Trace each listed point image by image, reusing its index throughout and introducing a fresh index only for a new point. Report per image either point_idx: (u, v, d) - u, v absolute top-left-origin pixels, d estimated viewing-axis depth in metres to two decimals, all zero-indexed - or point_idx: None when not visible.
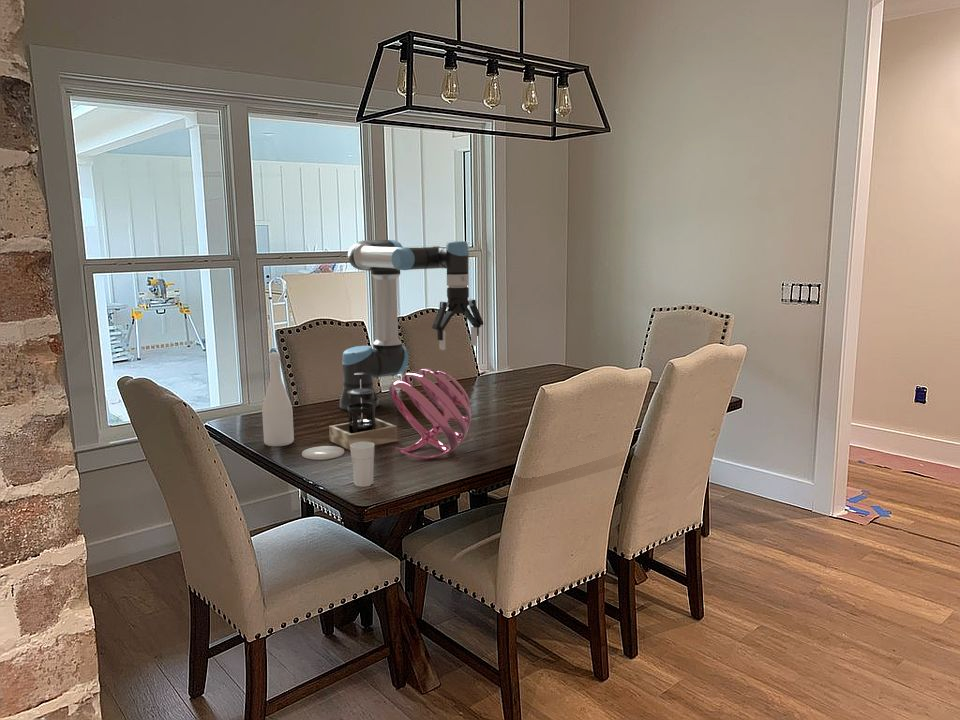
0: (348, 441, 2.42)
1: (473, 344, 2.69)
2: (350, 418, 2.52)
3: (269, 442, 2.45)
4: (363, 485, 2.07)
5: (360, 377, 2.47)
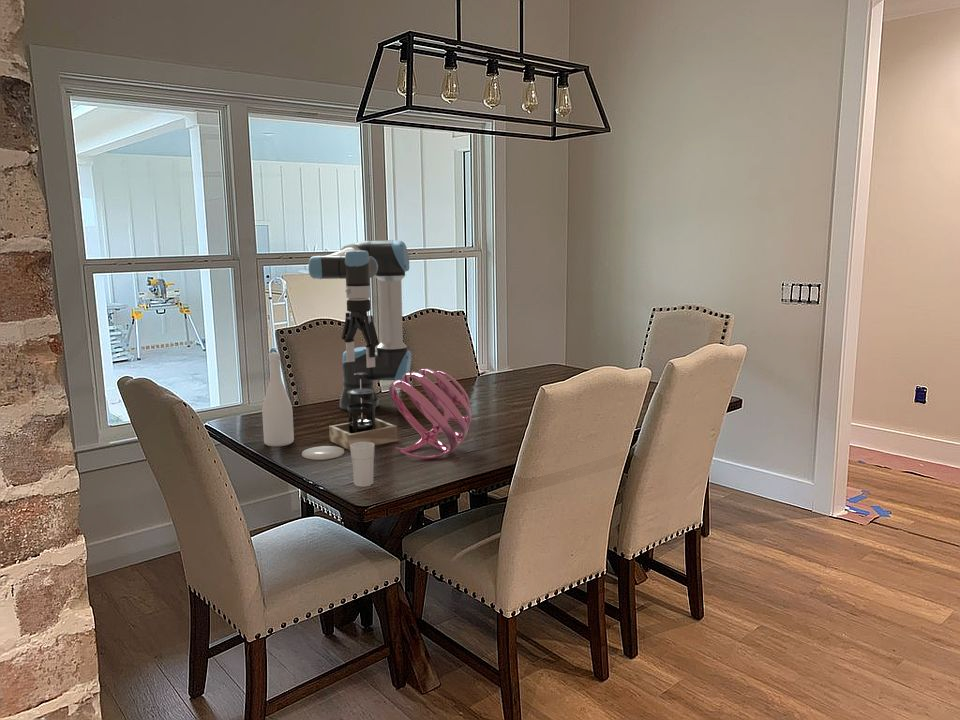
0: (348, 441, 2.42)
1: None
2: (350, 418, 2.52)
3: (269, 442, 2.45)
4: (363, 485, 2.07)
5: (360, 377, 2.47)
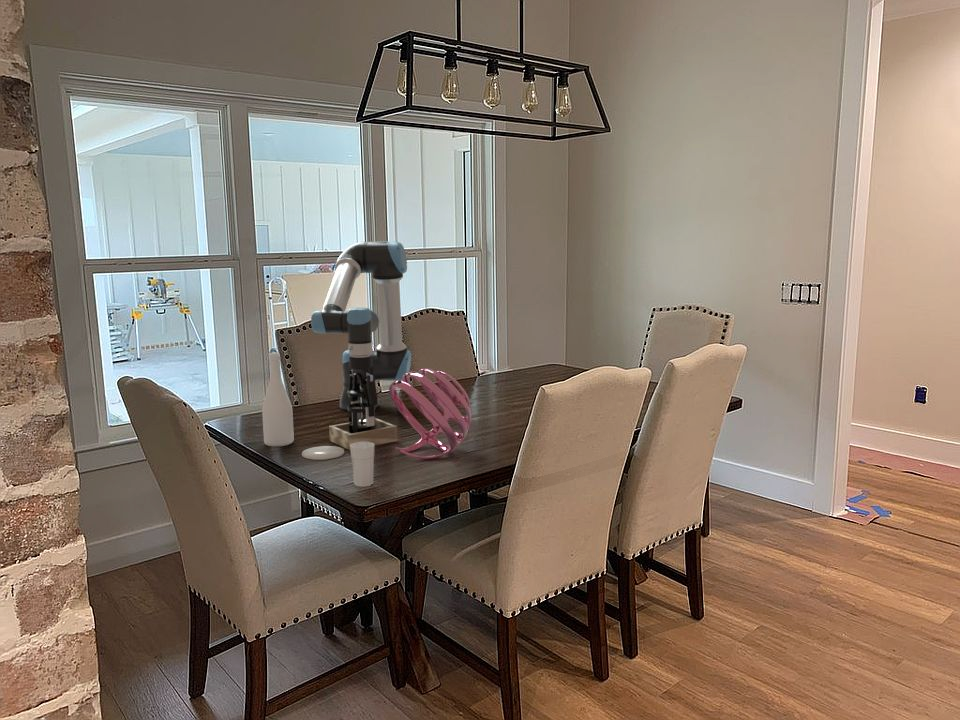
0: (348, 441, 2.42)
1: None
2: (350, 418, 2.52)
3: (269, 442, 2.45)
4: (363, 485, 2.07)
5: None
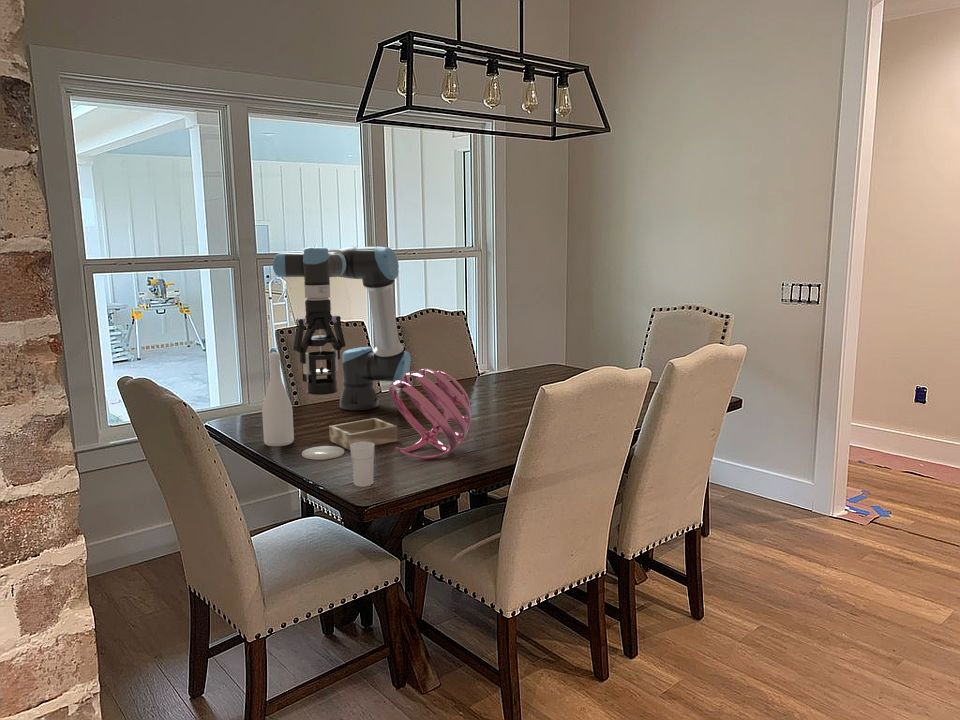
0: (348, 441, 2.42)
1: None
2: None
3: (269, 442, 2.45)
4: (363, 485, 2.07)
5: None
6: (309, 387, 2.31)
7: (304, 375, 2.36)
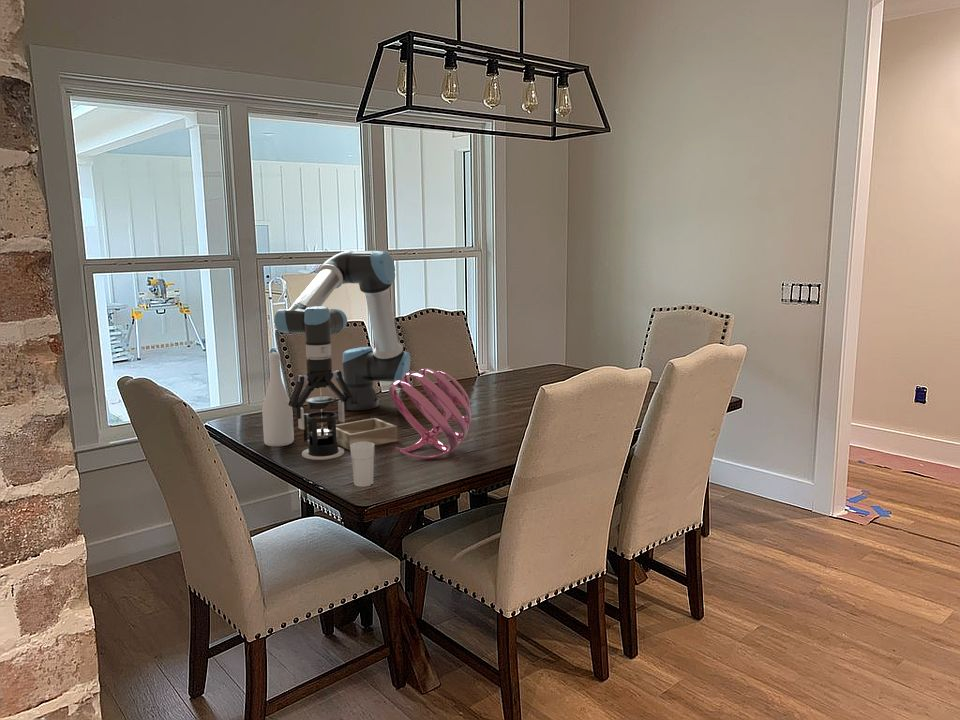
0: (348, 441, 2.42)
1: (340, 420, 2.40)
2: None
3: (269, 442, 2.45)
4: (363, 485, 2.07)
5: None
6: (310, 448, 2.34)
7: (305, 435, 2.38)
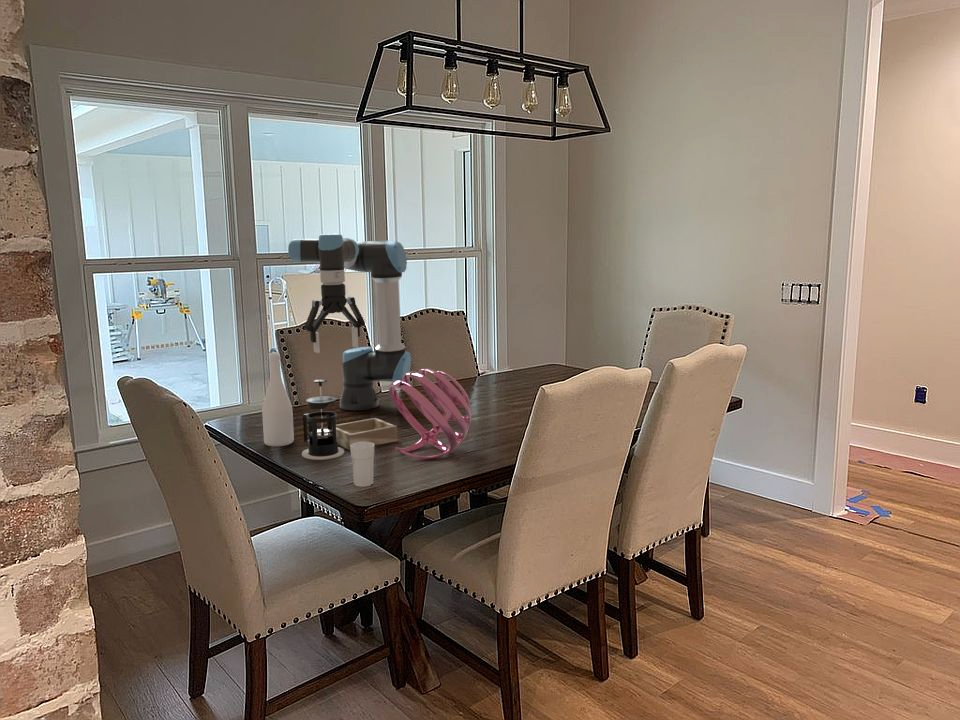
0: (348, 441, 2.42)
1: (354, 346, 2.47)
2: None
3: (269, 442, 2.45)
4: (363, 485, 2.07)
5: (321, 384, 2.34)
6: (310, 448, 2.34)
7: (305, 435, 2.38)
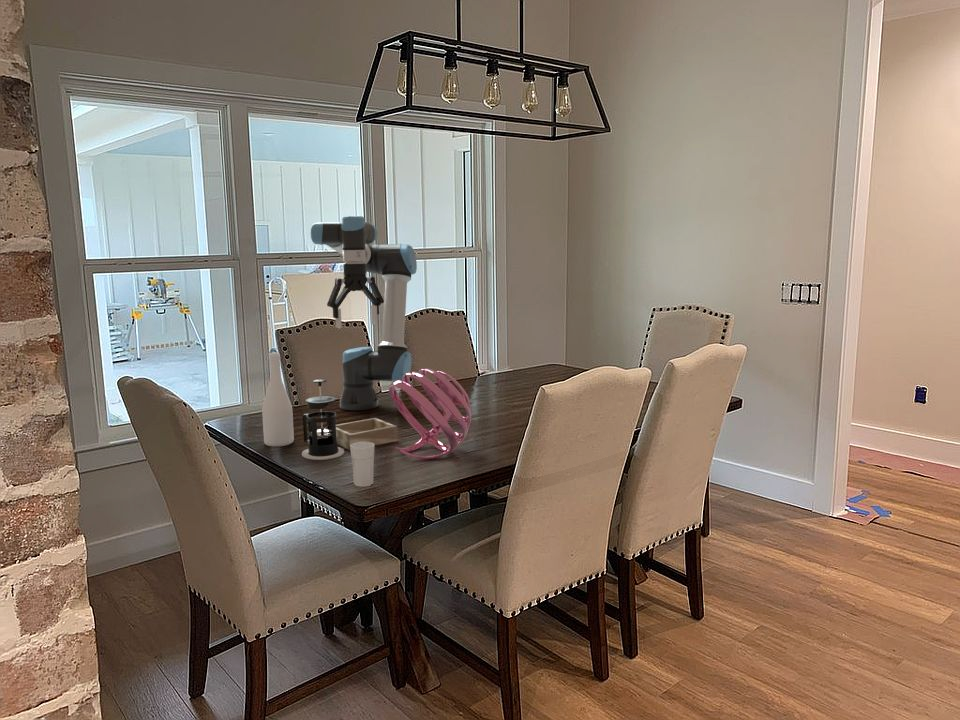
0: (348, 441, 2.42)
1: (373, 323, 2.61)
2: None
3: (269, 442, 2.45)
4: (363, 485, 2.07)
5: None
6: (310, 448, 2.34)
7: (305, 435, 2.38)
